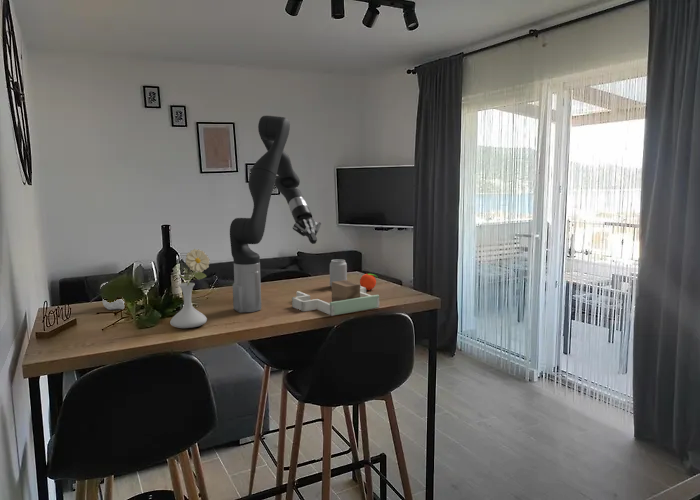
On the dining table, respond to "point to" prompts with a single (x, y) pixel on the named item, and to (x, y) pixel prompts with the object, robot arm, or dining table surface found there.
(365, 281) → the clementine
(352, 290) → the brown rectangular block
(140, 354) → the dining table surface
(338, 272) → the can
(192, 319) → the flower in vase
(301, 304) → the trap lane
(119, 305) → the duck figurine
